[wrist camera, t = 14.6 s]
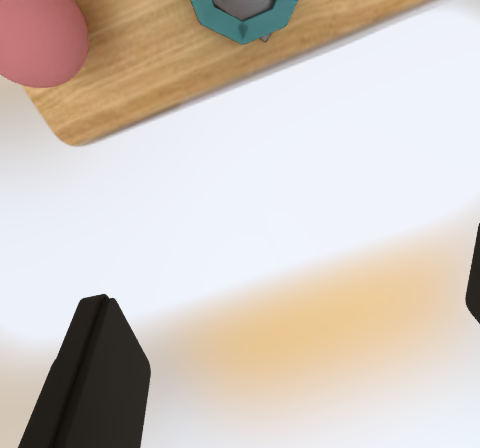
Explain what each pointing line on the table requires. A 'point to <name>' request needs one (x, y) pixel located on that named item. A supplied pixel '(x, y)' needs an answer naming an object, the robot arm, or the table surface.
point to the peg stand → (244, 9)
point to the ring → (244, 28)
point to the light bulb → (41, 41)
